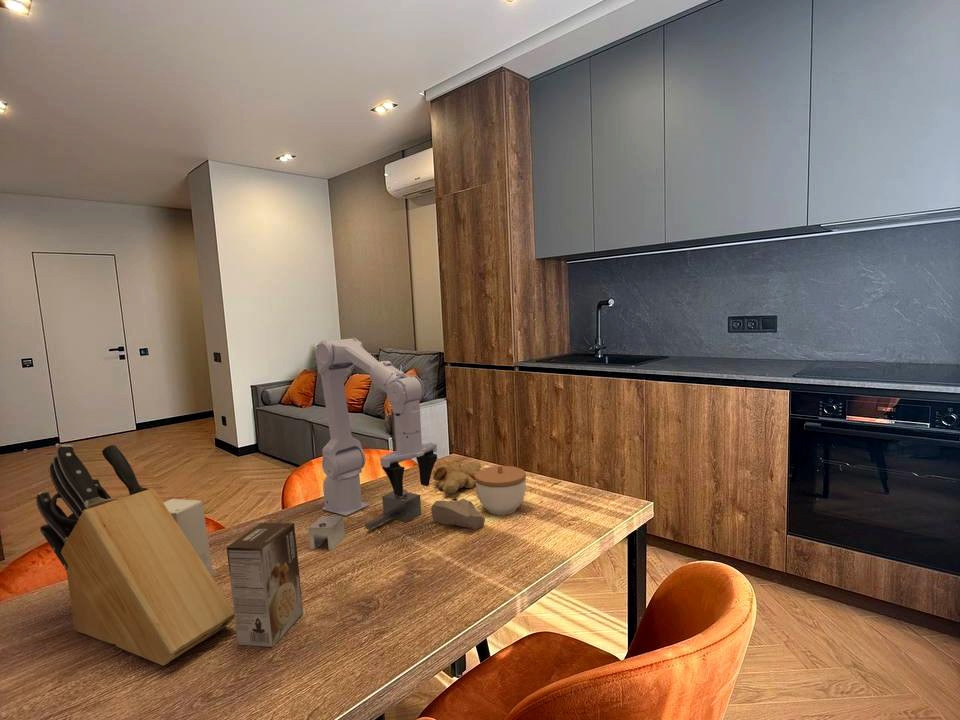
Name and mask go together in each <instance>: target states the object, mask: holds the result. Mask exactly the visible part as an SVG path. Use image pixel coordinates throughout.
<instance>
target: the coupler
mask: <svg viewBox="0 0 960 720" xmlns="http://www.w3.org/2000/svg"><path fill="white" fill-rule="evenodd" d="M381 498H382V511H383V514H382V515H379V516H378V517H376V518H374V519H372V520H370V521H367V522H365V523H364V526H365V527H364V528H365V530H368V531H370V530H372V529H374V528H376V527H378V526H380V525H383V524H384V523H386V522H387V521H389V520H392V519H395V520H398V521H403V522H407V523H408V522H410V521H412V520H414V519H416V518H418V517H419V516H421V515H422V505H421V504H422V503H421V494H417V493H413V492H409V491H408V490H407V489H404V488H403V496H397V495H395V494H394V491H391V492H389V493H386V494H384V495H382V497H381Z"/></svg>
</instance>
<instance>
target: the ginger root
mask: <svg viewBox="0 0 960 720" xmlns="http://www.w3.org/2000/svg"><path fill="white" fill-rule="evenodd" d="M481 467H482V465H481V463H480V462H469V463H467V464H464V465H462V463H460V462H459V463H458V462H448V463H444V464H442V465H441V464H440V465H439V466H437V467H436V469H435V470H434V471H432V473H433V475H432V476H433V477H432V479H433V480H434V481H437V482H438V487H437V488H439V489H440V490H442V491H443V492H444V493H448V494H454V493H456V492H457V491H458V490H459V489H461V488H465V489H471V488H473V487H474V486H475V474H476V473H477V472H478V471H479V470H482V469H481Z"/></svg>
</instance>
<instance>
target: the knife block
mask: <svg viewBox="0 0 960 720" xmlns="http://www.w3.org/2000/svg"><path fill="white" fill-rule="evenodd" d="M101 453H102V455H103V457H104V459H105V460H106V461H107V462H108V463H109V464H110V466H111V467H112V469H113V470H114V472H115V474H116V476H117V477H118V479H119V480H120V481H121V483H123V485H125V486H126V488H127V490H128V493H129V495H127V496H123V497H120V498H117V497H116V498H115V497H114V498H112V497H111V496H110V494H109V493H108V492H107V490H105V488H103V486H102V485H101V483H100V480H99V478H92V476H91V474H90V472H89V471H88V468H87V467H86V466H85V465H84V462H82V460H81V459H80V458H79V457H78V455H77V454H76V453H75V451H74V445H73V444H60V445H58V447H57V451H56V454H55V455H54V456H53V460H52V461H51V462H50V464H49V467H48V471H49V477H50V480H51V481H52V484H53V486H54V489H55V491H56V492H57V493H55V494H54V495H52V497H51V495H50V492H49V491H44V492H39V493H37V494H36V495H35V497H36V499H35V500H36V501H35V502H36V506H37V509H38V511H39V512H40V515H41V516H42V518H43V519H44V521H45V522H46V523H47V524H43V525H42V526H40V527H39V529H40V533H41V535H42V536H43V537H44V538H45V540H46V541H47V543H48V544H49V546H50V548H51V549H52V551H53V552H54V554H55V556H56V557H57V559H58V560H59V561H60V563H61V564H62V566H63V567H64V569H65V570H66V579H67V583H68V584H67V585H68V592H69V593H68V594H69V598H70V599H69V600H70V605H71V611H72V612H71V613H72V619H73V626H74V631H76V632H79V633H82V634H84V635H87V636H89V637H91V638H94V639H98V640H100V641H103V642H105V643H108V644H112V645H116V647H117V648H119V649H121V650H124V651H126V652H129V653H131V654H134V655H136V656H139V657H141V658H143V659H146V660H149V661H151V662H153V663H156V664H158V665H160V666H165V665H167V664H170V662H171V661H173V660H174V659H177V658H178V657H179V656H181V655H182V654H185V652H187V651H189V650H191V649H192V648H194V647H195V646H197V645H199V644H200V643H202V642H204V641H205V640H207V639H208V638H209V639H210V637H212V636H213V635H215V634H216V633H218V632H220V631H221V630H222V629H224V628H225V627H227V626H228V625H229V624H230V623H232V621H233V620H234V619H235V615H234V607H233V606H232V605H231V603H230V601H229V599H228V598H227V597H226V596H225V594H224V593H223V591H222V589H221V588H220V586H219V585H218V583H217V582H216V581H215V579H214V577H213V575H212V576H211V574H210V573H209V571H208V570H207V568H206V567H205V565H204V563H203V562H202V560H201V559H200V557H199V556H198V554H197V553H196V551H195V550H194V548H193V547H192V545H191V544H190V542H189V541H188V539H187V538H186V536H185V535H184V533H183V532H182V530H181V529H180V527H179V526H178V524H177V523H176V521H175V520H174V518H173V517H172V515H171V514H170V512H169V511H168V509H167V508H166V506H165V505H164V501H163V500H162V499H161V498H160V496H159V494H158V493H157V492H156V490H155V489H153V488H150V489H149V488H147V487H142V486H141V485H140V484H139V481H138V479H137V477H136V474H135V472H134V470H133V468H132V466H131V464H130V463H129V461H128V459H127V458H126V457H125V455H124V454H123V452H121V450H120V449H119V448H118V447H117V446H116V445H113V444H111V445H108V446H106V447H104V449H102V451H101ZM58 499H61V500H62V501H63V502H64V504H65V505H66V506H67V507H68V508H69V510H70V511H71V512H72V513H71V514H70V515H68V516H67V514H66V513H65V511H64V510H63V509H62V508H61V507H60V506H59V505H58V504H57V502H58V501H57V500H58Z"/></svg>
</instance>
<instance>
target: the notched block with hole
mask: <svg viewBox="0 0 960 720" xmlns="http://www.w3.org/2000/svg"><path fill="white" fill-rule="evenodd" d="M344 522H345V521H344V516H342V515H341V516H338V515H337V516H333V515H332V516H331V515H330V516H329V515H321V516H320V517H319V518H318V519H316V521H314V522H313V523H312V524H311V525H309V526H308V535H309V547H310V550H311V549H315V550H317V549H318V547H320V546H321V544H322V543H324V542H325V540H327V544H328V545H327V546H328V551H334V550H335V549H336V548H337V547H338V546H339V545H340V544H341V543H342V542H343V541H344V540H345V539H346V535H345V533H346V532H345V523H344ZM340 542H341V543H340ZM339 543H340V544H339ZM338 544H339V545H338ZM337 545H338V546H337ZM336 546H337V547H336Z"/></svg>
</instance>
